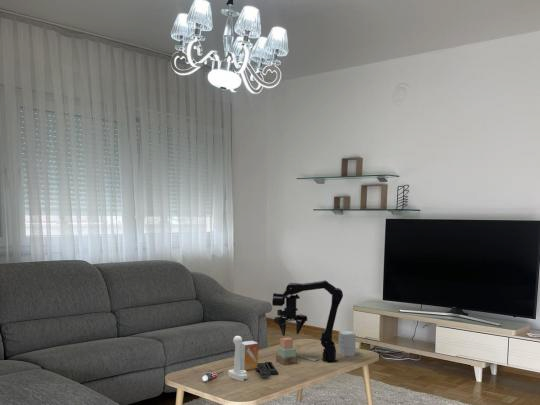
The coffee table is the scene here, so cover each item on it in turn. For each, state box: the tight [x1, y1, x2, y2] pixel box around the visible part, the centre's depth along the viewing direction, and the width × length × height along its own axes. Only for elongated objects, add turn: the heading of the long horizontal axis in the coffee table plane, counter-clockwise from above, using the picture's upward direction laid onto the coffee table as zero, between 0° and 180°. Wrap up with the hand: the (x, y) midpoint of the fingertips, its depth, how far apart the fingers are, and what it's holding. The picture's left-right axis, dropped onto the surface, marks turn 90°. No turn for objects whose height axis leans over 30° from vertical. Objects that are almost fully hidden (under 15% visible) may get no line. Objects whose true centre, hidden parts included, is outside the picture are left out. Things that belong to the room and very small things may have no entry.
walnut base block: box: [275, 353, 298, 366], centre depth 265 cm, size 8×8×4 cm
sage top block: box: [277, 346, 297, 358], centre depth 265 cm, size 7×7×4 cm
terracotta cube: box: [279, 336, 294, 350], centre depth 266 cm, size 5×5×5 cm
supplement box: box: [338, 330, 356, 358], centre depth 283 cm, size 7×7×13 cm
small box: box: [240, 340, 259, 371], centre depth 254 cm, size 8×6×13 cm
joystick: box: [228, 335, 248, 382], centre depth 240 cm, size 11×8×20 cm
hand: (290, 334), depth 273 cm, fingers open, 9 cm apart
